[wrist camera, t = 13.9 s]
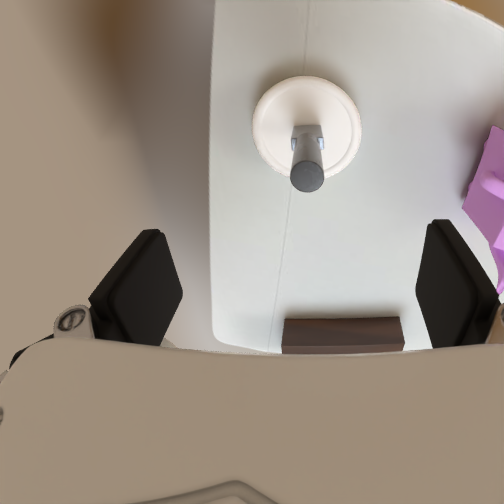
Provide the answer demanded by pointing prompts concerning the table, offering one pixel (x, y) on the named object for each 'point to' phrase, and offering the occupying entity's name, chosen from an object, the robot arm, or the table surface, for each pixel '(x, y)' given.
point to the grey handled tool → (307, 158)
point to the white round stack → (306, 122)
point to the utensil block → (342, 336)
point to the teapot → (490, 199)
